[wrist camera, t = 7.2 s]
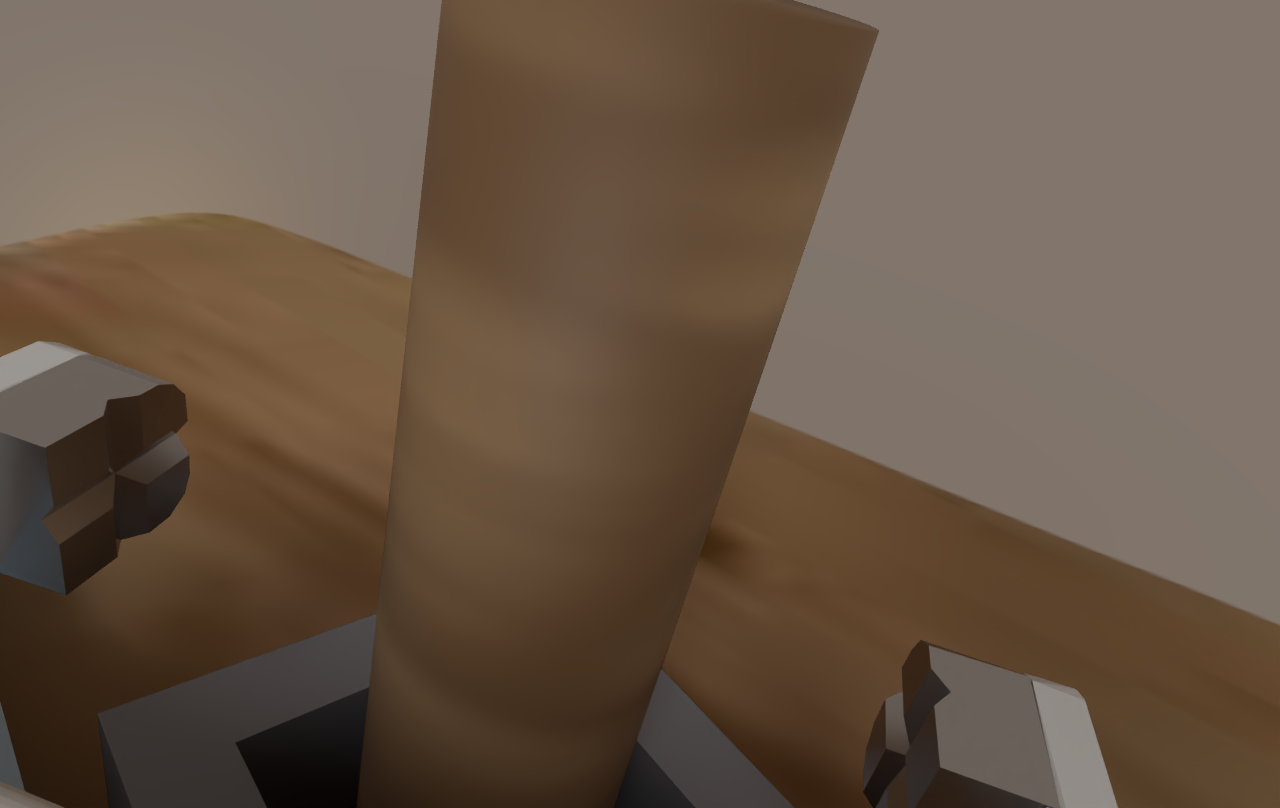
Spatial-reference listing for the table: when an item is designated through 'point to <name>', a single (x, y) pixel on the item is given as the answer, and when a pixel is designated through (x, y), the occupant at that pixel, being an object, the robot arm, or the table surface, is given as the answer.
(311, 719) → the socket block
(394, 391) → the table surface
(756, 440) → the table surface
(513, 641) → the dowel
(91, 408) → the robot arm
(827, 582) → the table surface
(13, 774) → the tray
